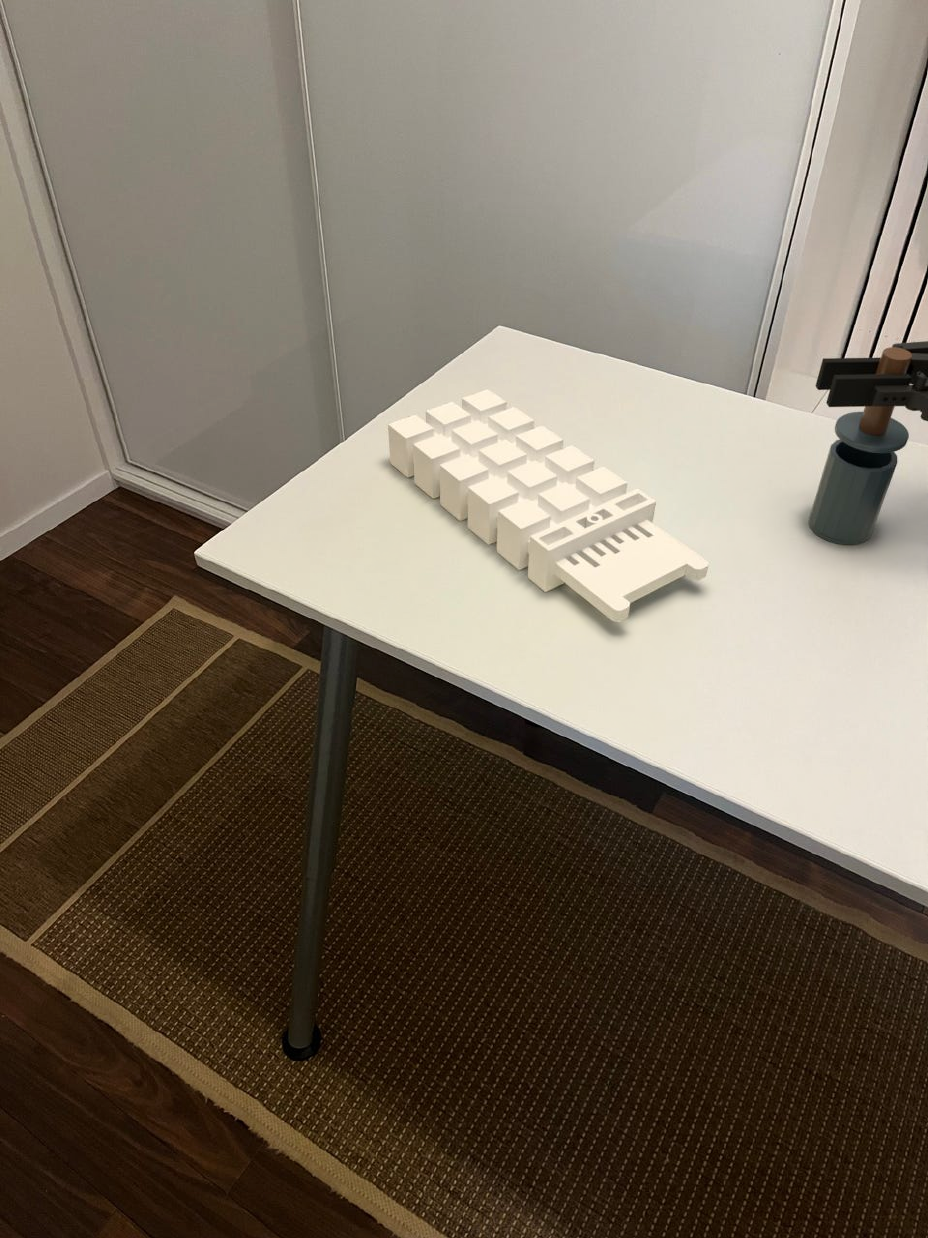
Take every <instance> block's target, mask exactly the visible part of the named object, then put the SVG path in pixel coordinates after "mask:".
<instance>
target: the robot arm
mask: <svg viewBox="0 0 928 1238" xmlns="http://www.w3.org/2000/svg"><path fill="white" fill-rule="evenodd" d="M891 347H896V348H902V349H905V350H907V351H909V352H910V353H911V354H912V358H911V361H910V363H909V366H908V369H907V372H906V374H876V371H877V368H878V365H879V362H880V358H881V357H834V358H833V357H831V358H829V357H828V358H827V357H825V358H822V361H821V364H820V367H819V371H818V375H817V379H816V383H815V387H816V390H818V391H829V392H828V395H827V399H826V402H825V403H826V405H827V406H828V408H856V407H858V408H859V407H861V408H862V407H863V408H865V407H868V406H878V407H885V406H886V407H887V406H895V407H905V409H907V410H909V411H912V412H920V413H921V415H920V419H921V420H923V421H926V422H928V340H926V341H925V340H924V341H912V342H899V343H897V342H896V343H893V344H892V345H891Z"/></svg>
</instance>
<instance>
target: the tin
mask: <svg viewBox="0 0 928 1238" xmlns="http://www.w3.org/2000/svg"><path fill="white" fill-rule="evenodd" d="M898 462H899V461H898V455H897V454H896V451H895V452H890V453H873V452H867V451H863V450H859V449H856V448H854V447H851V446H849V445H847V444H846V443H844V442H843V441H841V440H840V439H839V438H838V439H836V440H835V441H833V443H831V444H830V448H829V450H828V454H827V457H826V460H825V464H824V467H823V469H822V473H821V477H820V480H819V483H818V486H817V490H816V493H815V496H814V500H813V504H812V506H811V510H810V513H809V517H808V526H809V527H810V529H811V531H812V532H813V533H814V534H815V535H816V536H818V537H819V538H821V539H823V540H825V541H827V542H830V543H833V544H838V545H844V546H845V545H846V546H853V545H859V544H862V543H864V542H867V540H868V539H870V537H871V534H872V533H873V531H874V529H875V526H876V523H877V520H878V517H879V515H880V512H881V510H882V508H883V507H882V506H883V504H884V501H885V498H886V495H887V493H888V490H889V487H890V485H891V482H892V479H893V477H894V473H895V470H896V468H897V465H898Z"/></svg>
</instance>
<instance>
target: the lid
mask: <svg viewBox="0 0 928 1238" xmlns="http://www.w3.org/2000/svg"><path fill="white" fill-rule="evenodd" d="M879 358H880V362H879V365H878V368H877V371H876V374H906V372H907V369H908V366H909V363H910V361H911V358H912V354H911V353H910V352H909V351H907V350H905V349H902V348H896V347H892V346H891V347H890V346H889V347H885V348H884V349H883V350H882V352H881V355H880V357H879ZM863 408H864V409H863V411H853V412H848V413H845V414H843V415H841V416H839V418H838V419H837V420H836V421H835V425H834V433H835V435H836V436H837V438H838V440H839V439H840V440H841V441H843V442H844V443H846V444H847V445H849V446H851V447H854V448H856V449H859V450H863V451H867V452H873V453H890V452H895V453H896V452H898V451H900V450H902V449H903V448H904V447H905V446H906V445H907V443H908V441H909V437H910V434H909V430H908V429H907V428H906V426H905V425H904V424H903V423H901V422H899V420H896V419H895V418H892V415H893V414H894V413H893V412H894V409H895V408H896V406H887V407H886V406H885V407H878V406H868V407H863Z"/></svg>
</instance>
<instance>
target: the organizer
mask: <svg viewBox="0 0 928 1238" xmlns="http://www.w3.org/2000/svg"><path fill="white" fill-rule="evenodd" d="M507 405H508V403H507V401H506V400H505V399H503V398H502V397H500V396H498V395H497V394H495V393H494V392H492V391H491V390H489V389H484V390H482V391H479V392H475V393H473V394H470V395H467V396H464V397H462V398H461V406H460V405H458V404H456V403H455V402H454V401H450V402H448V403H444V404H442V405H439V406H436V407H434V408H433V407H432V408H430V409H427V410H425V420H423V419H422V418H421V417H419V416H418V415H417V414H413V415H410V416H407V417H405V418H402V419H399V420H395V421H394V422H391V423H388V424H387V429H388V448H389V449H388V450H389V464H390V465H392V466H393V467H394V468H395V469H397V470H398V471H399V472H400V473H401V474H402V475H404V476H405V477H406V478H411V477H414V478H413V479H414V484H415V486H417V487H419V489H421V490H422V491H423V492H424V493H425V494H426V495H428V496H429V497H430V498H431V499H433V500H434V499H436V498H439V505H440V506H441V507H442V508H444V510H445V511H447V512H448V513H450V514H451V515H452V516H453V517H454V518H455V519H457V520H458V521H459V522H462V521H464V520H467V529H469V530H470V531H471V532H472V533H473V534H475V535H476V536H477V537H478V538H479V539H481V540H482V541H483V542H484V543H486V544H487V546H490V545H492V544H494V543H496V553H498V555H500V556H501V557H503V559H504V560H506V561H507V562H508V563H509V564H510V565H512V566H513V567H514V568H515V569H516V570H518V571H521V570H523V569H525V568H527V579H529V580H530V581H531V582H532V583H534V585H536V586H537V587H538V588H540V589H541V590H542V591H543V592H545V593H547V592H549V591H551V590H554V589H555V588H557V587H559V586H561V585H564V584H566V585H567V586H568V587H570V588H571V590H573V591H574V592H576V593H577V594H578V595H580V597H582V598H583V599H585V600H586V601H587V603H590V605H591V606H593V607H595V609H597V610H598V612H599V611H600V612H601V613H602V614H603V615H604V616H606V618H608V619H609V620H610V621H612V622H614V623H621V622H623V621H625V620H626V619H628V618H629V613H630V608H631V607H630V606H631V603H633V602H636V601H637V600H639V599H642V598H643V597H645V596H646V595H649V594H650V593H652V592H654V591H656V590H658V589H660V588H662V587H664V586H666V585H668V584H670V583H672V582H674V581H676V580H678V579H680V578H681V577H683V576H686V577H687V578H689V579H690V580H691V581H696V582H697V581H701V580H702V579H704V578H706V577H707V573H708V570H709V569H708V568H709V564H710V563H709V561H708V560H706V559H705V558H703V557H702V556H701V555H699V554H698V553H697V552H695V551H693V550H692V549H691V548H689V547H687V545H685V544H683V543H682V542H680V541H679V540H678V539H676V538H675V537H673V536H671V535H670V534H669V533H667V532H666V531H664V530H663V529H661V528H660V527H658V526H657V525H656V524H654V523H653V521H654V517H655V510H656V505H657V500H655V499H653V498H652V497H650V496H649V495H647V494H646V493H644V492H643V491H642V490H640V489H638V488H635V489H633V490H631V491H627V488H628V481H626V480H624V479H623V478H622V477H620V476H619V475H617V474H615V472H613V471H611V470H610V469H608V468H607V467H605V466H603V465H602V466H600V467H598V468H596V469H595V459H593V458H592V457H591V456H588V455H587V454H586V453H584V452H582V451H581V450H579V449H578V448H577V447H575V446H574V445H572V444H570V445H569V446H566V447H564V439H563V438H562V437H560V436H559V435H557V434H556V433H555V432H553V431H551V430H550V429H548V428H547V427H545V426H544V425H539V426H537V427H535V420H534V419H533V418H532V417H530V416H529V415H527V414H526V413H524V412H523V411H521V410H520V409H518V408H517V407H515V406H512V407H510V408H507V407H508V406H507Z"/></svg>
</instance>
